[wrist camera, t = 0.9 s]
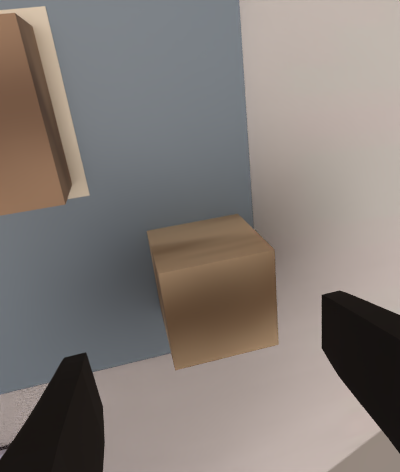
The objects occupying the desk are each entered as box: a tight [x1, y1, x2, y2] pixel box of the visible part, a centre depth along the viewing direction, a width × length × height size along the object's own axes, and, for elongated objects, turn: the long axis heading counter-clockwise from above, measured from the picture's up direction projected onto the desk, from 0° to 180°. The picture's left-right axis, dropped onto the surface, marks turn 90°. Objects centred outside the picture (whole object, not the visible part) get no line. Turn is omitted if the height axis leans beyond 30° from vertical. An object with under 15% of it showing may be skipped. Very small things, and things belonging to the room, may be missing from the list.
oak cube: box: [147, 214, 278, 370], centre depth 17 cm, size 4×4×4 cm
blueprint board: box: [0, 0, 254, 394], centre depth 17 cm, size 18×15×1 cm
